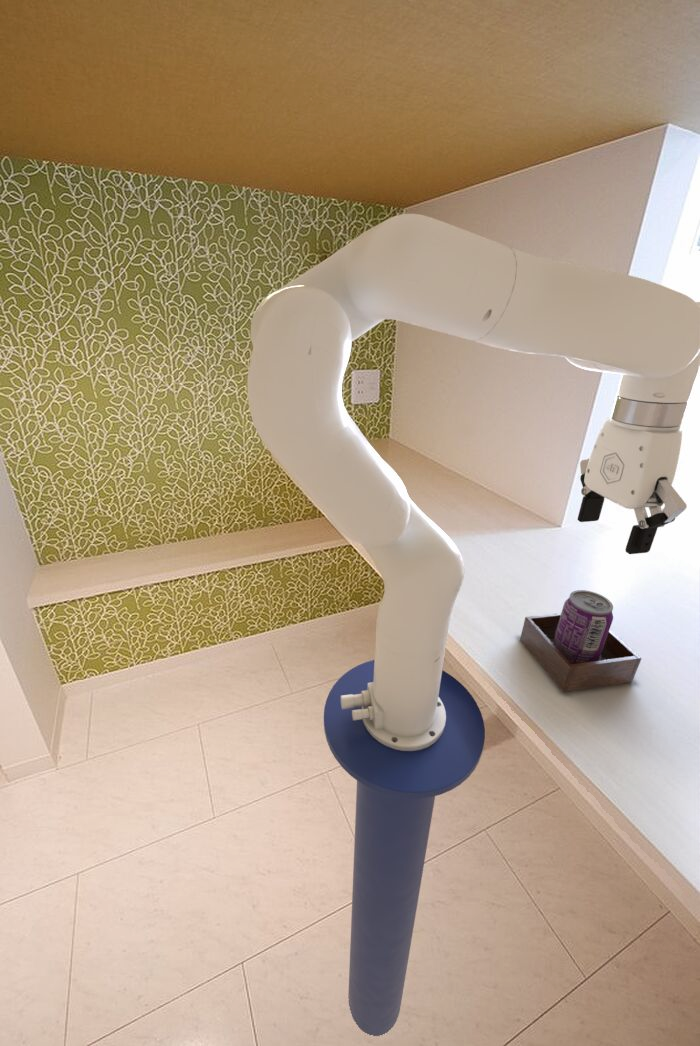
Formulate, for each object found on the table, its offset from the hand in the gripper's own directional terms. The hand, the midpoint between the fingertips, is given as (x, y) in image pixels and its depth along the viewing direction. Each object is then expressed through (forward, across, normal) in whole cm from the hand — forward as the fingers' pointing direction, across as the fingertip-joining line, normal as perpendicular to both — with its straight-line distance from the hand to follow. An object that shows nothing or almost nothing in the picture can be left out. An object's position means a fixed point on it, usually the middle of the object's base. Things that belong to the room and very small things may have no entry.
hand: (610, 535), depth 61 cm
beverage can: (+25, -1, +1) cm, 25 cm away
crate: (+25, -2, +1) cm, 25 cm away
